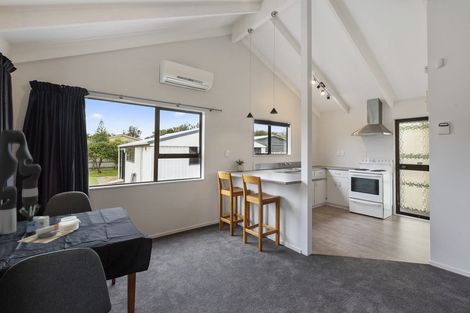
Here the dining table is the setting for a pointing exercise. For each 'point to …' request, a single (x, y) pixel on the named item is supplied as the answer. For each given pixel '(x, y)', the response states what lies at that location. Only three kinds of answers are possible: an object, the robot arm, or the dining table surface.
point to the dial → (47, 231)
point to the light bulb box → (38, 223)
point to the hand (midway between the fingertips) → (30, 221)
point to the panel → (44, 240)
